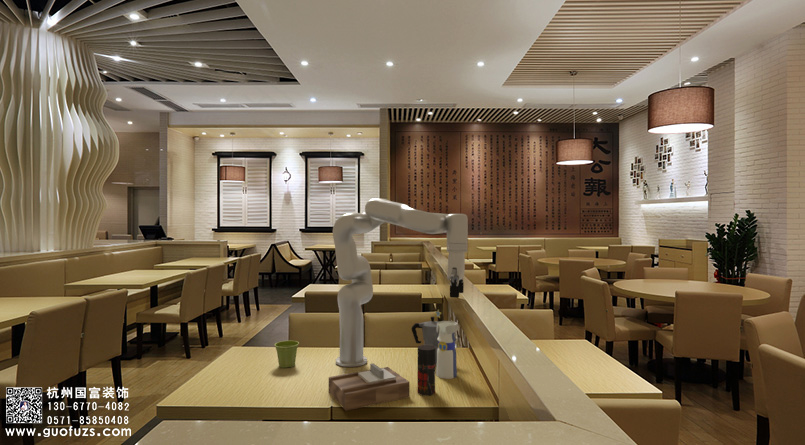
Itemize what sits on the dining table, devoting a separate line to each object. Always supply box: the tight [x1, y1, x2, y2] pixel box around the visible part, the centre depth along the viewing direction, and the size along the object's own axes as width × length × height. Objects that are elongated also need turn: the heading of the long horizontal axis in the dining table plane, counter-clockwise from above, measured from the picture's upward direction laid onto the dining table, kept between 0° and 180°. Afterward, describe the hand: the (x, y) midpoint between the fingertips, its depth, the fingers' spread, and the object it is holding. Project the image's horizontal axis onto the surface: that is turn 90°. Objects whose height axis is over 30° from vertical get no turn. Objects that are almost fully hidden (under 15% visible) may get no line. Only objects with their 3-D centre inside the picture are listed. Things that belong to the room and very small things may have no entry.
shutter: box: [357, 363, 396, 383], centre depth 147 cm, size 10×10×4 cm
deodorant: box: [416, 344, 436, 397], centre depth 148 cm, size 6×6×15 cm
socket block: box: [328, 366, 410, 412], centre depth 146 cm, size 16×22×6 cm
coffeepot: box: [411, 316, 439, 365], centre depth 181 cm, size 15×9×18 cm, turn 103°
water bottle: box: [435, 308, 460, 380], centre depth 164 cm, size 8×9×25 cm
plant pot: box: [273, 340, 300, 369], centre depth 174 cm, size 9×9×9 cm
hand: (456, 295), depth 161 cm, fingers open, 9 cm apart
